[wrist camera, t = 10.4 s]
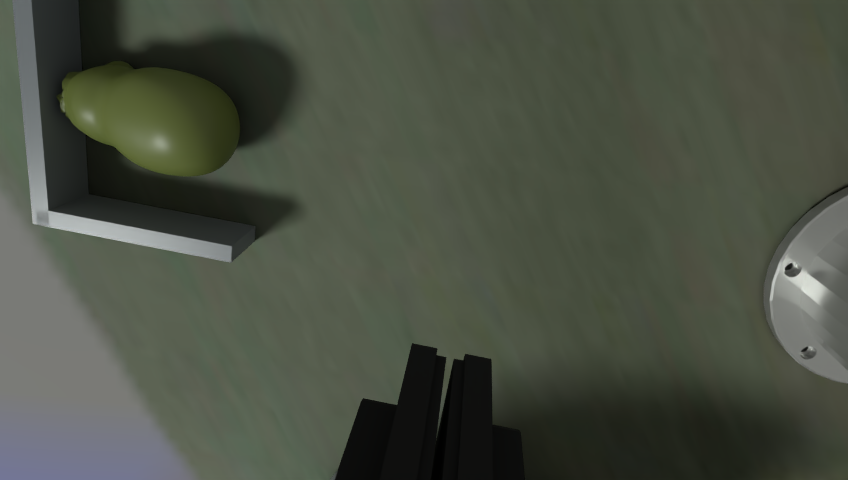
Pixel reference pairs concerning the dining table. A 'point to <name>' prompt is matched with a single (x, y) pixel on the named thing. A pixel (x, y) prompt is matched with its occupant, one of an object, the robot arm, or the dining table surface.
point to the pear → (154, 116)
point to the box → (67, 159)
